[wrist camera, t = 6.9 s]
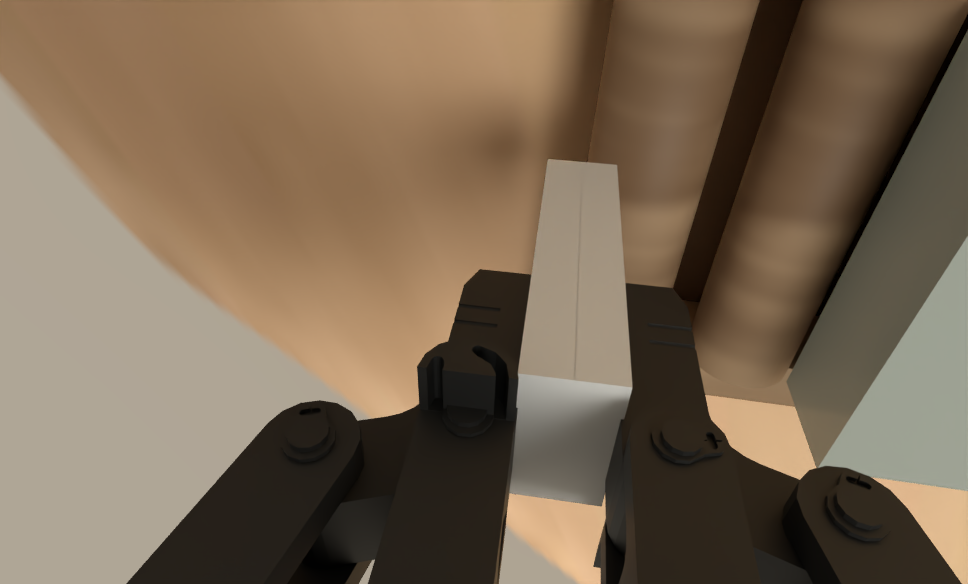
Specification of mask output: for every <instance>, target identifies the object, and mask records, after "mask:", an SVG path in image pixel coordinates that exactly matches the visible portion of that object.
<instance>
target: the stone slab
mask: <svg viewBox="0 0 968 584" xmlns="http://www.w3.org/2000/svg"><path fill="white" fill-rule="evenodd" d="M786 382H787V385H788V388H789V391H790V393H791V396H792V399H793V402H794V405H795V408H796V411H797V413H798V416H799V419H800V422H801V425H802V428H803V430H804V433H805V436H806V439H807V442H808V445H809V448H810V450H811V453H812V456H813V459H814V462H815V465H816V467H817V468H819V467H823V466H834V467H844V468H849V469H851V470H854V471H857V472H859V473H862V474H865V475H867V476H870V477H875V478H882V479H888V480H895V481H902V482H909V483H916V484H923V485H930V486H937V487H944V488H951V489H958V490H965V491H968V30H967V32H966V34H965V36H964V38H963V40H962V42H961V44H960V46H959V48H958V50H957V52H956V54H955V55H954V57H953V59H952V61H951V63H950V65H949V67H948V69H947V71H946V73H945V75H944V77H943V79H942V81H941V83H940V85H939V86H938V88H937V90H936V92H935V94H934V96H933V98H932V100H931V102H930V104H929V106H928V108H927V110H926V112H925V114H924V116H923V118H922V119H921V121H920V123H919V125H918V127H917V129H916V131H915V133H914V135H913V137H912V139H911V141H910V143H909V145H908V147H907V149H906V150H905V152H904V154H903V156H902V158H901V160H900V162H899V164H898V166H897V168H896V170H895V172H894V174H893V176H892V178H891V180H890V182H889V183H888V185H887V187H886V189H885V191H884V193H883V195H882V197H881V199H880V201H879V203H878V205H877V207H876V209H875V211H874V213H873V214H872V216H871V218H870V220H869V222H868V224H867V226H866V228H865V230H864V232H863V234H862V236H861V238H860V240H859V242H858V244H857V246H856V247H855V249H854V251H853V253H852V255H851V257H850V259H849V261H848V263H847V265H846V267H845V269H844V271H843V273H842V275H841V277H840V278H839V280H838V282H837V284H836V286H835V288H834V290H833V292H832V294H831V296H830V298H829V300H828V302H827V304H826V306H825V308H824V310H823V311H822V313H821V315H820V317H819V319H818V321H817V323H816V325H815V327H814V329H813V331H812V333H811V335H810V337H809V339H808V341H807V343H806V344H805V346H804V348H803V350H802V352H801V354H800V356H799V358H798V360H797V362H796V364H795V366H794V368H793V370H792V372H791V374H790V375H789V377H788V379H787V381H786Z"/></svg>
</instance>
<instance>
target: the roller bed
mask: <svg viewBox="0 0 968 584" xmlns="http://www.w3.org/2000/svg"><path fill="white" fill-rule="evenodd" d="M759 1H760V0H614V1H613V7H612V14H611V20H610V26H609V32H608V38H607V44H606V50H605V57H604V63H603V69H602V75H601V81H600V87H599V93H598V100H597V106H596V112H595V118H594V124H593V130H592V136H591V143H590V149H589V155H588V161H587V162H590V163H601V164H613V165H617V171H618V185H619V200H620V214H621V228H622V243H623V257H624V272H625V283H630V284H640V285H649V286H659V287H668V288H673V286H674V283H675V280H676V276H677V273H678V270H679V266H680V263H681V260H682V256H683V253H684V250H685V246H686V243H687V240H688V236H689V233H690V230H691V226H692V223H693V220H694V217H695V213H696V210H697V207H698V203H699V200H700V197H701V193H702V190H703V187H704V183H705V180H706V177H707V173H708V170H709V167H710V163H711V160H712V157H713V154H714V150H715V147H716V144H717V140H718V137H719V134H720V130H721V127H722V124H723V120H724V117H725V114H726V110H727V107H728V104H729V100H730V97H731V94H732V91H733V87H734V84H735V81H736V77H737V74H738V71H739V67H740V64H741V61H742V57H743V54H744V51H745V47H746V44H747V41H748V37H749V34H750V31H751V28H752V24H753V21H754V18H755V14H756V11H757V8H758V4H759ZM967 14H968V0H803V2H802V5H801V8H800V10H799V13H798V16H797V19H796V22H795V25H794V28H793V31H792V34H791V37H790V40H789V43H788V45H787V48H786V51H785V54H784V57H783V60H782V63H781V66H780V69H779V72H778V75H777V78H776V80H775V83H774V86H773V89H772V92H771V95H770V98H769V101H768V104H767V107H766V110H765V113H764V115H763V118H762V121H761V124H760V127H759V130H758V133H757V136H756V139H755V142H754V145H753V148H752V151H751V153H750V156H749V159H748V162H747V165H746V168H745V171H744V174H743V177H742V180H741V183H740V186H739V188H738V191H737V194H736V197H735V200H734V203H733V206H732V209H731V212H730V215H729V218H728V221H727V223H726V226H725V229H724V232H723V235H722V238H721V241H720V244H719V247H718V250H717V253H716V256H715V259H714V261H713V264H712V267H711V270H710V273H709V276H708V279H707V282H706V285H705V288H704V291H703V294H702V296H701V299H700V302H693V301H685V300H682V301H683V302H684V303H685V304H686V306H687V307H688V311H689V316H690V321H691V326H692V330H691V332H693V336H694V341H695V349H696V351H697V356H698V362H699V367H700V372H701V377H702V382H703V387H704V392H705V395H712V396H719V397H727V398H734V399H742V400H749V401H756V402H764V403H771V404H779V405H786V406H793V407H795V405H794V402H793V399H792V396H791V393H790V391H789V388H788V385H787V382H786V381H787V379H788V377H789V375H790V374H791V372H792V370H793V368H794V366H795V364H796V362H797V360H798V358H799V356H800V354H801V352H802V350H803V348H804V346H805V344H806V343H807V341H808V339H809V337H810V335H811V333H812V331H813V329H814V327H815V325H816V323H817V321H818V319H819V317H817V316H815V315H816V313H817V311H818V309H819V307H820V305H821V303H822V301H823V299H824V297H825V295H826V293H827V291H828V289H829V287H830V285H831V283H832V281H833V279H834V277H835V275H836V273H837V271H838V269H839V267H840V265H841V263H842V261H843V259H844V257H845V255H846V253H847V251H848V249H849V247H850V246H851V244H852V242H853V240H854V238H855V236H856V234H857V232H858V230H859V228H860V226H861V224H862V222H863V220H864V218H865V216H866V214H867V212H868V210H869V208H870V206H871V204H872V202H873V200H874V198H875V196H876V194H877V192H878V190H879V188H880V186H881V184H882V182H883V180H884V178H885V176H886V174H887V172H888V170H889V168H890V166H891V164H892V162H893V160H894V158H895V157H896V155H897V153H898V151H899V149H900V147H901V145H902V143H903V141H904V139H905V137H906V135H907V133H908V131H909V129H910V127H911V125H912V123H913V121H914V119H915V117H916V115H917V113H918V111H919V109H920V107H921V105H922V103H923V101H924V99H925V97H926V95H927V93H928V91H929V89H930V87H931V85H932V83H933V81H934V79H935V77H936V75H937V73H938V71H939V69H940V67H941V66H942V64H943V62H944V60H945V58H946V56H947V54H948V52H949V50H950V48H951V46H952V44H953V42H954V40H955V38H956V36H957V34H958V32H959V30H960V28H961V26H962V24H963V22H964V20H965V18H966V16H967Z"/></svg>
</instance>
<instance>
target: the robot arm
mask: <svg viewBox="0 0 968 584" xmlns="http://www.w3.org/2000/svg"><path fill="white" fill-rule="evenodd" d="M691 330H692V326H691V321H690V316H689V311H688V307H687V306H686V304H685V303H684V302H683V301H682V299H681V298H680V297H679V295H678V294H677V293H676V292H675V290H674V289H673V288H668V287H659V286H649V285H640V284H630V283H625V272H624V257H623V243H622V228H621V214H620V200H619V185H618V171H617V165H613V164H601V163H590V162H578V161H567V160H555V159H548V161H547V168H546V175H545V182H544V189H543V197H542V204H541V211H540V218H539V225H538V232H537V239H536V246H535V254H534V261H533V268H532V275H529V274H519V273H510V272H501V271H491V270H482V269H480V270H479V271H478V272H477V273H476V274H475V275H474V276H473V277H472V278H471V279H470V280H469V281H468V282H467V283H466V284H465V285H464V288H463V291H462V295H461V298H460V302H459V308H458V309H457V312H456V316H455V320H454V323H453V326H452V330H451V333H450V337H449V340H448V342H445V343H441V344H439V345H437V346H436V347H434V348H433V349H432V350H430V351H429V352H427V353H426V354H425V355H424V357H423V358H422V360H421V362H420V363H419V365H418V366H417V371H418V388H419V404H418V405H417V406H416V407H414V408H412V409H410V410H407V411H405V412H403V413H400V414H396V415H392V416H388V417H381V418H374V419H367V420H360V421H357V420H356V418H355V416H354V415H353V413H352V412H351V411H349V410H348V409H346V408H344V407H343V406H341V405H339V404H337V403H332V402H326V401H312V402H305V403H300V404H298V405H296V406H293V407H291V408H289V409H286V410H284V411H282V412H281V413H280V414H278V415H277V416H276V417H275V418H274V419H272V420H271V421H270V422H269V423H268V424H267V425H266V426H265V427H264V428H263V429H262V430H261V432H260V433H259V434H258V435H257V436H256V437H255V438H254V440H253V441H252V442H251V443H250V444H249V445H248V446H247V447H246V449H245V450H244V451H243V452H242V453H241V454H240V455H239V457H238V458H237V459H236V460H235V461H234V462H233V463H232V465H231V466H230V467H229V468H228V469H227V470H226V471H225V473H224V474H223V475H222V476H221V477H220V478H219V479H218V480H217V482H216V483H215V484H214V485H213V486H212V487H211V488H210V489H209V491H208V492H207V493H206V494H205V495H204V496H203V497H202V499H201V500H200V501H199V502H198V503H197V504H196V505H195V506H194V508H193V509H192V510H191V511H190V512H189V513H188V514H187V516H186V517H185V518H184V519H183V520H182V521H181V522H180V523H179V525H178V526H177V527H176V528H175V529H174V530H173V531H172V533H171V534H170V535H169V536H168V537H167V538H166V539H165V541H164V542H163V543H162V544H161V545H160V546H159V547H158V549H157V550H156V551H155V552H154V553H153V554H152V555H151V556H150V558H149V559H148V560H147V561H146V562H145V563H144V564H143V565H142V567H141V568H140V569H139V570H138V571H137V572H136V573H135V575H134V576H133V577H132V578H131V579H130V580H129V581H128V583H127V584H359V582H360V580H361V578H362V577H363V575H364V573H365V571H366V570H367V568H368V566H369V564H370V563H371V561H372V560H374V559H375V562H374V566H373V569H372V572H371V575H370V579H369V582H368V584H499V576H500V568H501V560H502V551H503V544H504V536H505V528H506V517H507V507H508V499H509V493H512V494H519V495H526V496H533V497H540V498H547V499H554V500H561V501H568V502H575V503H582V504H588V505H595V506H602V503H603V499H604V495H605V497H606V520H605V524H604V527H603V531H602V534H601V538H600V542H599V545H598V549H597V553H596V557H595V562H594V566H593V567H599V568H601V584H962V583H961V582H960V581H959V579H958V578H957V576H956V575H955V574H954V572H953V571H952V569H951V568H950V567H949V565H948V564H947V563H946V561H945V560H944V558H943V557H942V556H941V554H940V553H939V551H938V550H937V549H936V547H935V546H934V545H933V543H932V542H931V540H930V539H929V538H928V536H927V535H926V533H925V532H924V531H923V529H922V528H921V527H920V525H919V524H918V522H917V521H916V520H915V518H914V517H913V515H912V514H911V513H910V511H909V510H908V509H907V507H906V506H905V505H904V504H903V503H902V502H901V501H900V500H899V499H898V498H897V497H896V496H895V495H894V494H893V493H892V492H891V490H889V489H888V488H886V487H885V486H883V485H882V484H880V483H879V482H877V481H876V480H874V479H873V478H871V477H870V476H867V475H865V474H862V473H859V472H857V471H854V470H851V469H849V468H844V467H834V466H823V467H819V468H816V469H812V470H809V471H808V472H807V473H806V474H805V475H804V476H803V477H802V478H801V480H799V479H796V478H794V477H791V476H789V475H786V474H784V473H781V472H779V471H776V470H773V469H771V468H768V467H766V466H763V465H761V464H759V463H757V462H755V461H753V460H751V459H749V458H746V457H745V456H743V455H742V454H740V453H739V452H738V451H736V450H735V449H733V448H732V447H731V446H730V445H729V443H728V440H727V438H726V436H725V434H724V433H723V432H722V431H721V430H720V429H719V428H718V427H717V426H716V425H715V424H714V422H713V421H712V420H711V418H710V416H709V412H708V407H707V402H706V397H705V392H704V387H703V382H702V377H701V372H700V367H699V362H698V356H697V351H696V349H695V341H694V336H693V332H691Z"/></svg>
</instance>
